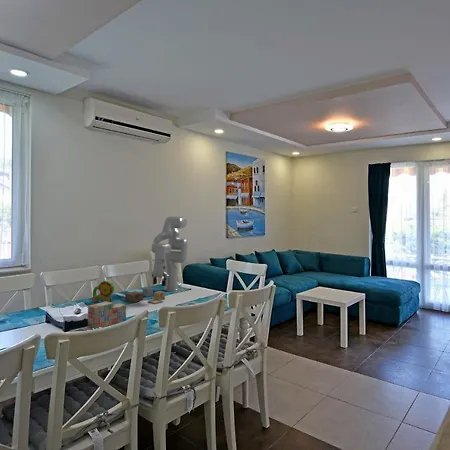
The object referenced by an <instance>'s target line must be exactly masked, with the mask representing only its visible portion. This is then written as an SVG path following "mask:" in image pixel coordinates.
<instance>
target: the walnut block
mask: <svg viewBox="0 0 450 450" xmlns="http://www.w3.org/2000/svg"><path fill="white" fill-rule="evenodd" d="M124 295H125V297H124V298H125V299H124V300H125V301H127V302H130V303H136V302H137V303H138V302H141V301H144V296H143V292H139V291H137V290H136V291H131V292H130V291H129V292H125V294H124Z"/></svg>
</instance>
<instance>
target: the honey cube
mask: <svg viewBox="0 0 450 450" xmlns="http://www.w3.org/2000/svg"><path fill="white" fill-rule="evenodd" d="M165 299H166V292H165V291H161V290H157V291H153V300H159V301H163V300H165Z"/></svg>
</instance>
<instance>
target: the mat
mask: <svg viewBox="0 0 450 450" xmlns="http://www.w3.org/2000/svg"><path fill="white" fill-rule="evenodd" d="M147 303H148V304H152V305H157V304H161V303H164V301H163V300H160V301H159V300H154V299H152V300H148V301H147Z"/></svg>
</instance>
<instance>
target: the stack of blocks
mask: <svg viewBox="0 0 450 450" xmlns="http://www.w3.org/2000/svg"><path fill="white" fill-rule="evenodd" d="M124 321H127V305H126V304H124V303H115V304H114V302H112V301H111V302H107V301H106V302H104V301H102V302H98V303H95V304H91V305H88V306H87V328H89V329H92V328H94V329H95V330H97V329H96V328H98V329H100V328H99V327H102V328H106V327H108V325H109V326H111V325H115V324H118V323H121V322H124ZM94 329H93V330H94Z"/></svg>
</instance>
